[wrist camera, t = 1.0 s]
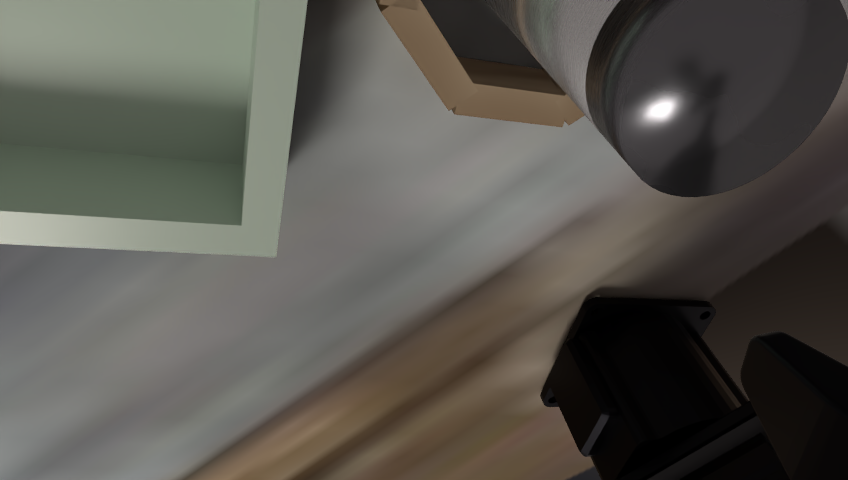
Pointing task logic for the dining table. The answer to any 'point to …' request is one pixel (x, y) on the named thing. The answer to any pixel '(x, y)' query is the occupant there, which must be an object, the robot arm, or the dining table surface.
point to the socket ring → (477, 75)
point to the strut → (691, 79)
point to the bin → (147, 123)
